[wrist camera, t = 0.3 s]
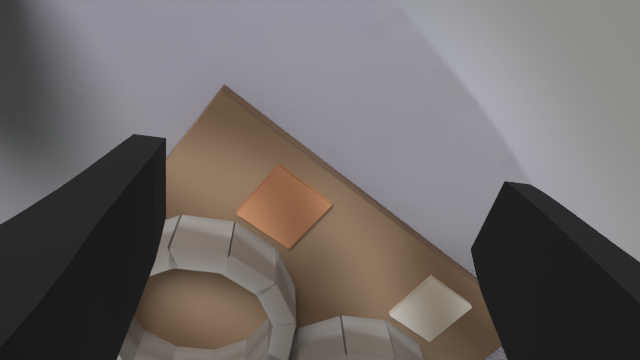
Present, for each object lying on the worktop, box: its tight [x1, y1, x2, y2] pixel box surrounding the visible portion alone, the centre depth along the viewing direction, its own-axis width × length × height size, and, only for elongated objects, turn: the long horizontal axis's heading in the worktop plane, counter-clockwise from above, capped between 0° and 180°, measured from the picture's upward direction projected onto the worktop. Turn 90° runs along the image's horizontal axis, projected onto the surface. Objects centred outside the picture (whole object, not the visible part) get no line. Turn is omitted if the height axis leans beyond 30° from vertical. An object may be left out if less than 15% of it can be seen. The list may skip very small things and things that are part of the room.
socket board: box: [117, 85, 502, 360], centre depth 24 cm, size 14×20×4 cm
